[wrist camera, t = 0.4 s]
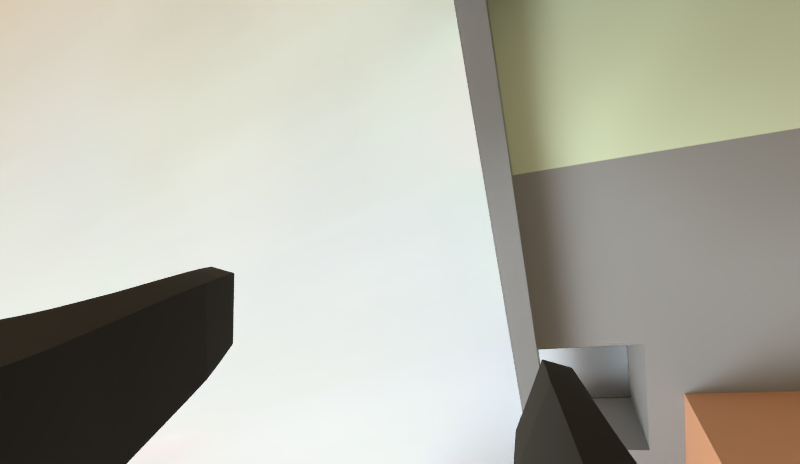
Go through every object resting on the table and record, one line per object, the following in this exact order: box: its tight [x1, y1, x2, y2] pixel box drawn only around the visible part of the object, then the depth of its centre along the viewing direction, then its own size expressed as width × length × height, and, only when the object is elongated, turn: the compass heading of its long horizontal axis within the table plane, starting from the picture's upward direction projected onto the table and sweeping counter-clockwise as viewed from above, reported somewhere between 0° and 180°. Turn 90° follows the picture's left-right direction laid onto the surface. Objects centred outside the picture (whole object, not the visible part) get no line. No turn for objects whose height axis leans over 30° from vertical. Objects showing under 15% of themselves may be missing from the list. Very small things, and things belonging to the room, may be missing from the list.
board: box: [454, 0, 800, 464], centre depth 14 cm, size 23×16×6 cm
